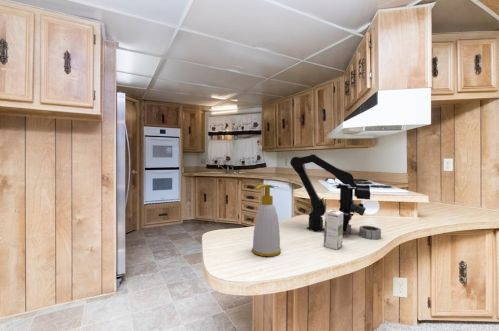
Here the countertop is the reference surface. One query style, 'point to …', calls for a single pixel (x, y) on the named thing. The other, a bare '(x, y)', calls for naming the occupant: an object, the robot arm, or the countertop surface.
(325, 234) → the syrup box
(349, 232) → the cap
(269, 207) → the soap bottle
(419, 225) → the countertop surface
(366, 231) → the grey ribbed ring
